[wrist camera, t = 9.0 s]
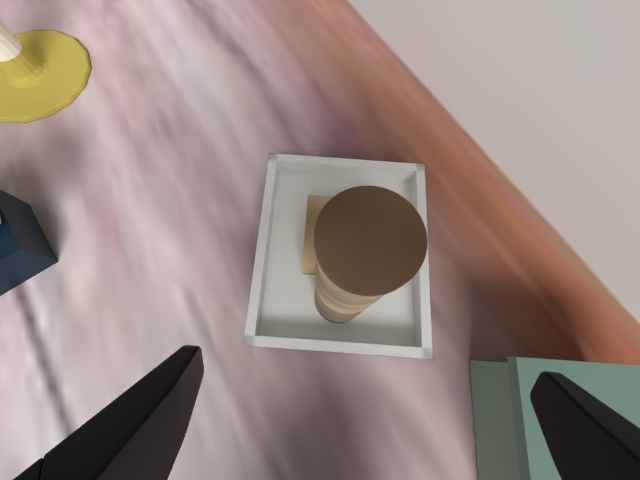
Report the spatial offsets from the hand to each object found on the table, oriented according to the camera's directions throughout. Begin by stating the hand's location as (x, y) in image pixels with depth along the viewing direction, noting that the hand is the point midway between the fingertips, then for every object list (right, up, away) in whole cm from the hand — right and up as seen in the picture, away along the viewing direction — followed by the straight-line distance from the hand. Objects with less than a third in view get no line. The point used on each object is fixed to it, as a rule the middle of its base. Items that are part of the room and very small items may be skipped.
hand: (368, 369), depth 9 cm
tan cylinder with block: (0, +2, +14) cm, 14 cm away
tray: (0, +2, +15) cm, 15 cm away
